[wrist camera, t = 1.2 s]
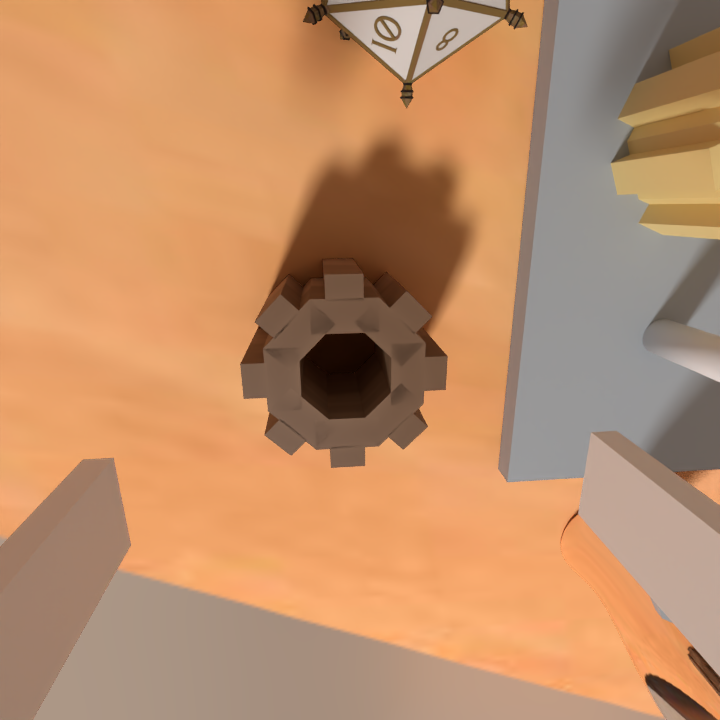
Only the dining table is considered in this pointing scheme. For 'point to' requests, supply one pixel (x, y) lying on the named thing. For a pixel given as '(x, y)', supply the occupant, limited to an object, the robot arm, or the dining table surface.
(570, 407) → the gear board
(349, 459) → the walnut gear
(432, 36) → the game die
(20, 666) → the robot arm
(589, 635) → the dining table surface
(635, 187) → the gear
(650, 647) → the beer glass
